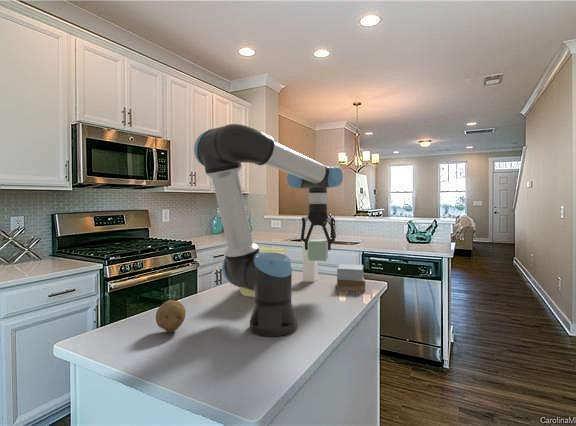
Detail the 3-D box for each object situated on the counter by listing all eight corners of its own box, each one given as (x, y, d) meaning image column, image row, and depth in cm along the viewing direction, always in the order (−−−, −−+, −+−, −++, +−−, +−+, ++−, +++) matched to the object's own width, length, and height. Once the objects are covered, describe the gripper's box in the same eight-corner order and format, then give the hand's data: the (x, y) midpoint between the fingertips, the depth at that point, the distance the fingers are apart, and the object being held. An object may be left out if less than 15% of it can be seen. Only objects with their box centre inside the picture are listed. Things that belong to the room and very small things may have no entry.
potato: (184, 337, 102) (183, 304, 102) (152, 339, 101) (152, 306, 100) (187, 326, 111) (186, 295, 111) (158, 328, 110) (157, 297, 109)
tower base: (365, 292, 151) (365, 281, 151) (337, 291, 152) (337, 280, 152) (362, 285, 163) (362, 274, 162) (337, 284, 164) (336, 274, 164)
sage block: (326, 260, 140) (326, 241, 140) (309, 260, 141) (309, 241, 141) (326, 258, 147) (326, 239, 147) (309, 257, 148) (310, 239, 148)
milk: (314, 282, 168) (314, 237, 167) (302, 281, 170) (302, 237, 169) (317, 279, 174) (317, 236, 172) (306, 278, 176) (305, 235, 175)
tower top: (362, 281, 150) (362, 269, 150) (337, 279, 153) (337, 268, 153) (363, 275, 161) (363, 265, 161) (339, 274, 164) (339, 264, 164)
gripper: (341, 203, 146) (341, 256, 147) (295, 203, 149) (295, 256, 149) (342, 203, 139) (342, 259, 139) (293, 203, 141) (293, 258, 142)
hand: (317, 257), depth 144 cm, fingers closed on sage block, 7 cm apart
